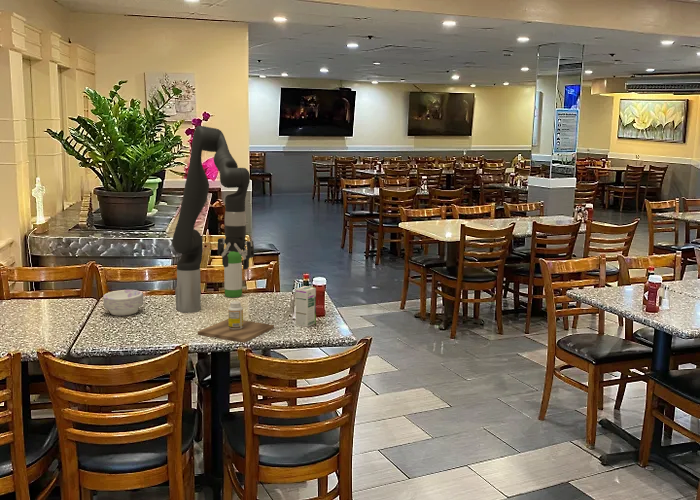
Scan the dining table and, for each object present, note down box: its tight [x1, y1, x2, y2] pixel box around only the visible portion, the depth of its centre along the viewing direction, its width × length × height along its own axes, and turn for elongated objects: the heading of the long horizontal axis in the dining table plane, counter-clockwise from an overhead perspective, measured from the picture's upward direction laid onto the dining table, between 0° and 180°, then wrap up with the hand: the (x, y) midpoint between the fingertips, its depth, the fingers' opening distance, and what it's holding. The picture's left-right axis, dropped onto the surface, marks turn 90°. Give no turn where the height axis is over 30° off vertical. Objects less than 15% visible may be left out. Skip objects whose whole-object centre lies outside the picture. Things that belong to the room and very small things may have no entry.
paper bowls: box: [102, 289, 144, 317], centre depth 271 cm, size 15×15×8 cm
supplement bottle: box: [227, 300, 244, 330], centre depth 248 cm, size 5×5×10 cm
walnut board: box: [197, 318, 275, 343], centre depth 249 cm, size 20×20×1 cm
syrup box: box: [294, 285, 317, 328], centre depth 258 cm, size 6×6×14 cm
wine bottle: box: [223, 251, 243, 298], centre depth 300 cm, size 8×8×30 cm
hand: (235, 268), depth 245 cm, fingers open, 8 cm apart
